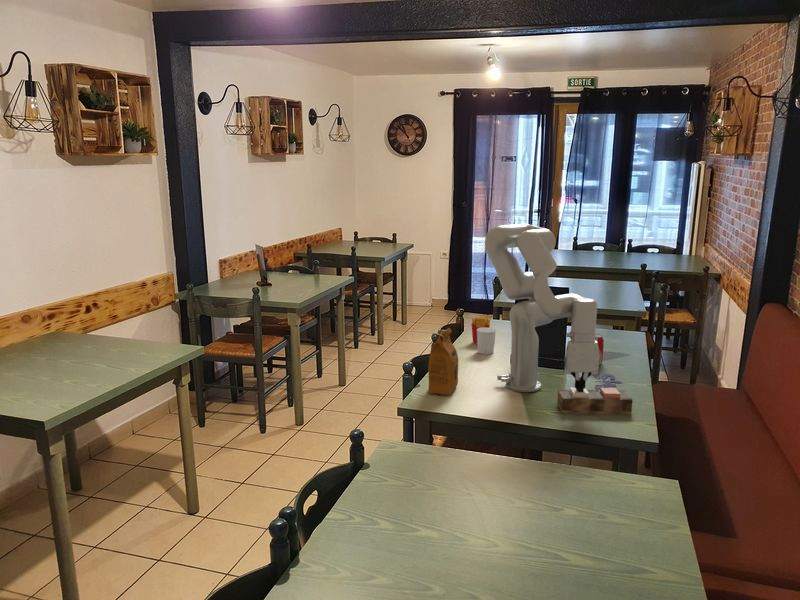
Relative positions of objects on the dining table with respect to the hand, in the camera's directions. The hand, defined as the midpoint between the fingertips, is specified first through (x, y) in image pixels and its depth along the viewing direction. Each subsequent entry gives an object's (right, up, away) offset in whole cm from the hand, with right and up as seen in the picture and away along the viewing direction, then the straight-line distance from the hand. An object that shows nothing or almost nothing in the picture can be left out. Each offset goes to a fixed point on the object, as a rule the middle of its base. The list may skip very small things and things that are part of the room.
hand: (579, 390), depth 198 cm
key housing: (+5, -6, +1) cm, 8 cm away
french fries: (-22, +10, +76) cm, 80 cm away
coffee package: (-43, -3, +18) cm, 47 cm away
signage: (+17, -3, +21) cm, 27 cm away
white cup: (-22, +7, +62) cm, 66 cm away
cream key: (0, -4, +1) cm, 4 cm away
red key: (+10, -4, 0) cm, 11 cm away
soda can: (+19, +4, +47) cm, 51 cm away
